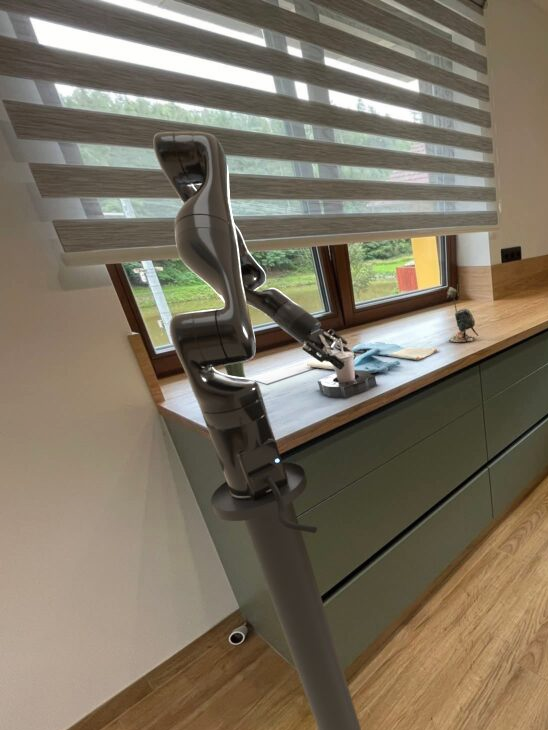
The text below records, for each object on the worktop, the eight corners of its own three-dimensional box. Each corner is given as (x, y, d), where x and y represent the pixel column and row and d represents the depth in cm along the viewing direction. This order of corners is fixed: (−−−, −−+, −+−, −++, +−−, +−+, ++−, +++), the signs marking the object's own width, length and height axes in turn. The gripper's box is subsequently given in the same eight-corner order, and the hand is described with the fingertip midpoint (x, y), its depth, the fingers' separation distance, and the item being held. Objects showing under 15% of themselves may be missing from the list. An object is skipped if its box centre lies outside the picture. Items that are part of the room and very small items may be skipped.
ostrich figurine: (469, 345, 151) (463, 288, 144) (445, 342, 157) (439, 287, 150) (483, 339, 158) (478, 284, 150) (459, 336, 164) (454, 283, 156)
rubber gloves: (368, 344, 161) (365, 327, 159) (438, 351, 147) (436, 333, 144) (307, 367, 138) (302, 348, 136) (383, 378, 124) (379, 357, 122)
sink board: (382, 383, 120) (380, 374, 119) (342, 400, 110) (340, 389, 109) (353, 377, 127) (351, 367, 126) (314, 392, 117) (311, 382, 116)
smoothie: (365, 385, 119) (355, 337, 114) (346, 393, 114) (335, 343, 109) (350, 382, 123) (340, 335, 117) (331, 390, 118) (320, 341, 112)
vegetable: (238, 408, 109) (214, 332, 102) (236, 403, 112) (212, 329, 105) (258, 403, 111) (235, 328, 104) (255, 398, 115) (232, 326, 107)
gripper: (288, 317, 105) (344, 361, 108) (318, 306, 118) (367, 345, 121) (274, 339, 107) (329, 381, 110) (304, 325, 120) (352, 363, 124)
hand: (348, 362), depth 116 cm, fingers closed on smoothie, 6 cm apart
